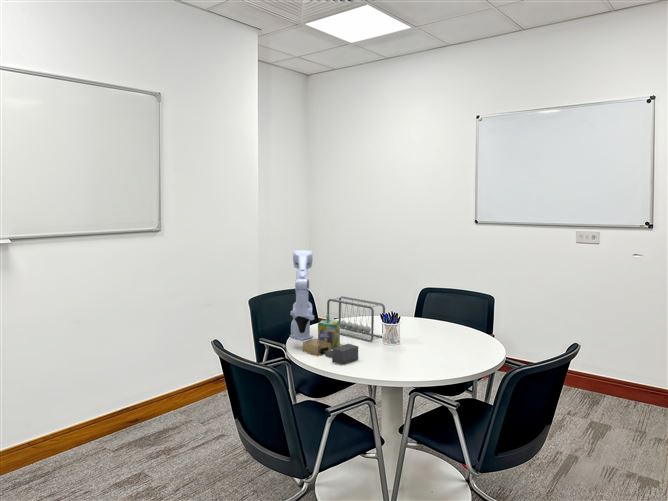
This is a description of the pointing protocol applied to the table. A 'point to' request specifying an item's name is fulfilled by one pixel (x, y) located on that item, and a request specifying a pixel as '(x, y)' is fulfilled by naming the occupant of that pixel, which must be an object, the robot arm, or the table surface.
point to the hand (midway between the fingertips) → (302, 332)
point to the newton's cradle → (355, 326)
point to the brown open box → (316, 346)
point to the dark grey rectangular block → (343, 354)
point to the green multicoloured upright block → (329, 331)
